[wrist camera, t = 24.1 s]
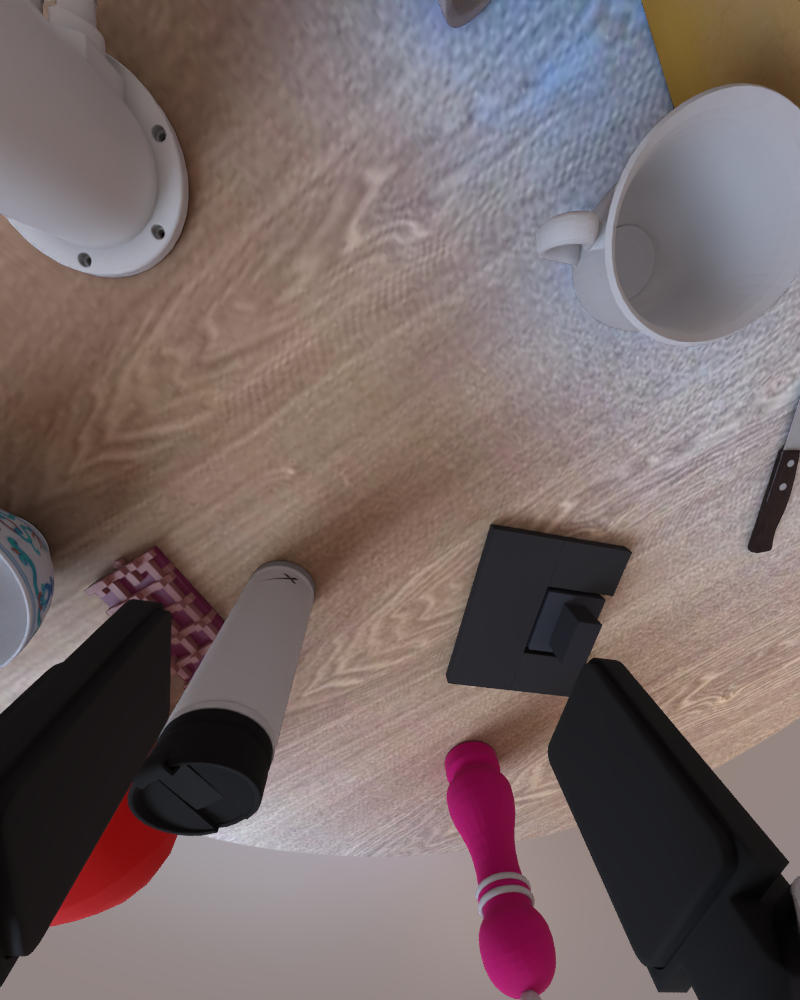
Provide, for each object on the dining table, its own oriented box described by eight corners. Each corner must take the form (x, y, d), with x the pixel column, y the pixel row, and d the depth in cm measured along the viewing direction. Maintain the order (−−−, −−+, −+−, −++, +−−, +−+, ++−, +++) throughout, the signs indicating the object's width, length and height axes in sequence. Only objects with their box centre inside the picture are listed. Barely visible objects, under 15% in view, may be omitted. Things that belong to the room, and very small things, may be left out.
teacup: (504, 172, 28) (571, 72, 18) (702, 177, 29) (865, 83, 19) (491, 352, 32) (542, 347, 22) (666, 352, 33) (786, 346, 23)
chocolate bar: (150, 539, 35) (138, 549, 33) (277, 679, 41) (273, 694, 39) (88, 577, 36) (73, 589, 34) (221, 709, 42) (214, 725, 40)
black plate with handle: (545, 585, 39) (564, 609, 35) (599, 593, 40) (624, 618, 36) (524, 641, 41) (540, 671, 37) (576, 648, 42) (597, 677, 38)
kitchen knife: (773, 553, 39) (753, 554, 38) (763, 549, 40) (745, 549, 39) (838, 359, 33) (816, 359, 33) (826, 359, 34) (804, 359, 34)
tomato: (221, 825, 43) (206, 721, 39) (91, 1004, 30) (53, 872, 27) (116, 785, 47) (95, 689, 44) (-35, 925, 35) (-81, 804, 31)
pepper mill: (428, 765, 46) (466, 1039, 28) (468, 728, 45) (538, 990, 26) (471, 789, 48) (535, 1060, 29) (512, 753, 47) (606, 1016, 28)
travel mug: (291, 545, 36) (201, 743, 17) (327, 599, 38) (282, 827, 19) (233, 574, 37) (85, 796, 18) (272, 625, 39) (176, 873, 20)
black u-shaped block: (490, 523, 37) (494, 528, 35) (624, 546, 38) (632, 551, 37) (445, 674, 42) (447, 683, 41) (564, 688, 44) (569, 697, 43)
